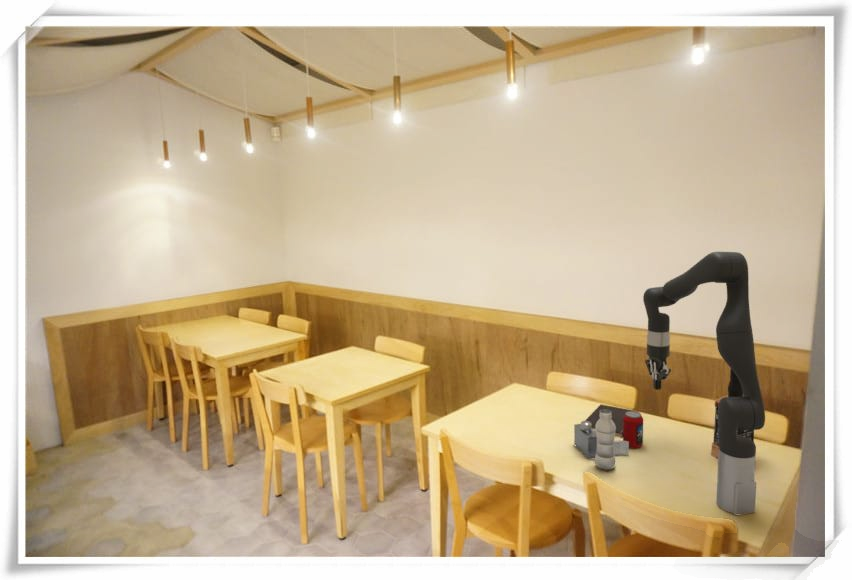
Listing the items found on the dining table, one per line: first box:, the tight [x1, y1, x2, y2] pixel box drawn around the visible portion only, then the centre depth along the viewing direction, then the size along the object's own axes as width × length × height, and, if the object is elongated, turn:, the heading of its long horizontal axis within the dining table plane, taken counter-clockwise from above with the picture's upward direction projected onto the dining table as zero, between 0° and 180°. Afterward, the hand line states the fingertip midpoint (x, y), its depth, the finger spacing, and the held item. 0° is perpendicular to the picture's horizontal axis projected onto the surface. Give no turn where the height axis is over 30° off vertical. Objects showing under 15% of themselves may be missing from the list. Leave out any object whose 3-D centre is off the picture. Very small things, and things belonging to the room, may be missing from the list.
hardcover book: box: [584, 404, 639, 439], centre depth 220 cm, size 16×23×2 cm
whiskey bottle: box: [710, 368, 755, 459], centre depth 185 cm, size 10×10×32 cm
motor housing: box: [573, 420, 630, 460], centre depth 198 cm, size 15×14×11 cm
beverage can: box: [622, 410, 644, 449], centre depth 200 cm, size 7×7×12 cm
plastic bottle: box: [594, 410, 616, 471], centre depth 184 cm, size 6×7×20 cm
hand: (657, 388), depth 198 cm, fingers closed
